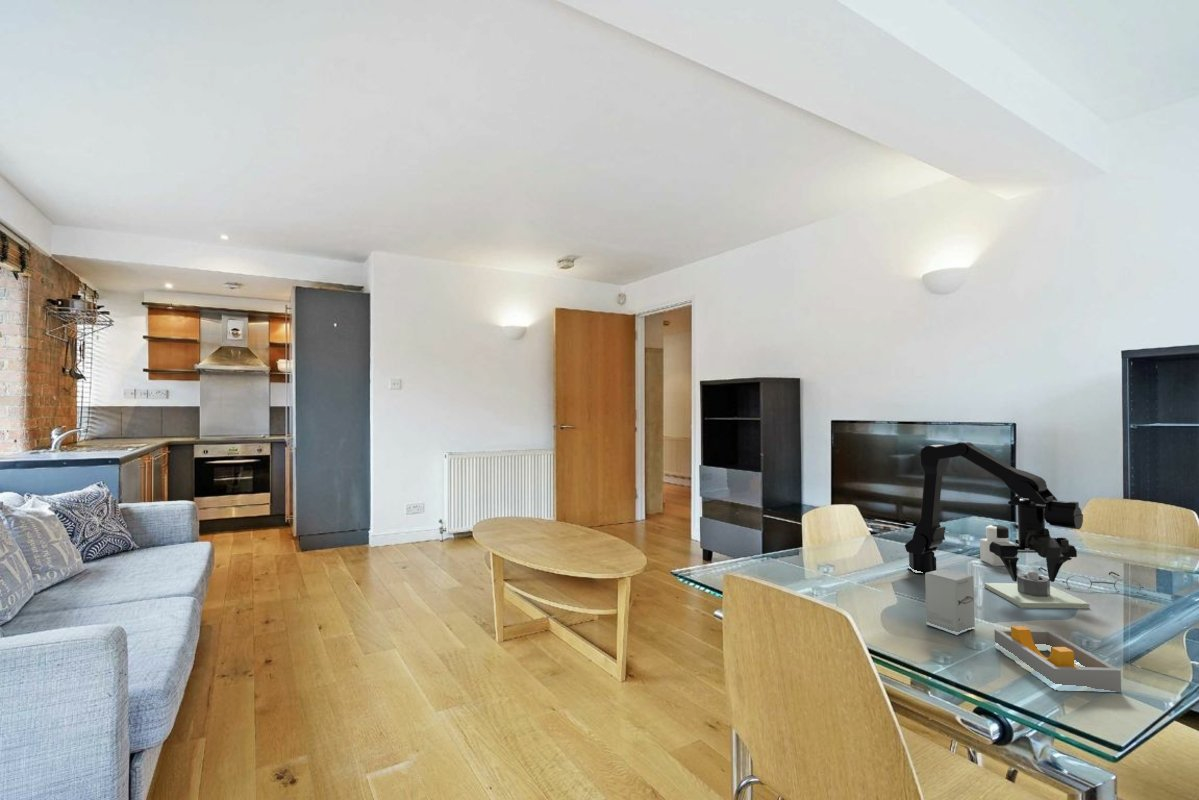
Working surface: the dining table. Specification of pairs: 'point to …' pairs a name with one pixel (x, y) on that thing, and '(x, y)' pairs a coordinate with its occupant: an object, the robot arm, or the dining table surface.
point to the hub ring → (1033, 586)
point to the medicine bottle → (993, 535)
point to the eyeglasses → (1099, 581)
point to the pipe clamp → (1057, 656)
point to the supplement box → (950, 599)
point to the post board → (1027, 601)
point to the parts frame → (1090, 675)
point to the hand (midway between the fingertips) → (1033, 581)
